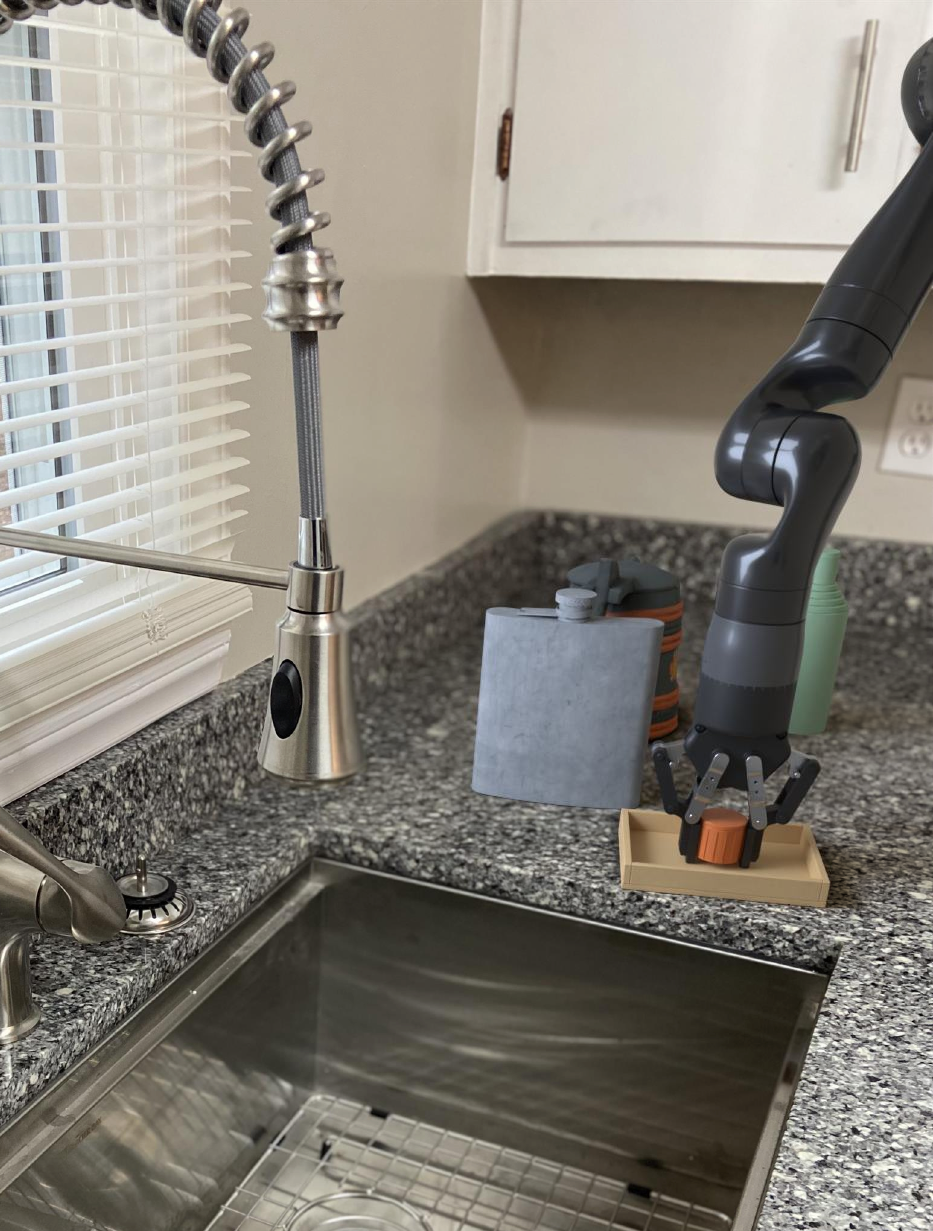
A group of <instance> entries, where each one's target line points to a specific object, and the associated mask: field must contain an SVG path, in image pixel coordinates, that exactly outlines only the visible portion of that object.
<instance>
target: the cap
mask: <svg viewBox="0 0 933 1231" xmlns="http://www.w3.org/2000/svg"><path fill="white" fill-rule="evenodd" d="M699 821H700V824H701V826H700V832H699V838H698V844H697V850H696V856H697V857H698V858H700V859H702V860H705V861H708V862H712V863H717V864H731V863H735V862H737V861H739V860H740V858H741V856H742V851H743V845H744V840H745V834H746V828H747V823H748V817H747V816H746V815H745V814H743V813H741V812H739V811H737V810H734V809H731V808H723V807H709V808H705V809H704V811H703V813H702V815H701V817H700V819H699Z"/></svg>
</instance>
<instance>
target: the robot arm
mask: <svg viewBox="0 0 933 1231" xmlns="http://www.w3.org/2000/svg"><path fill="white" fill-rule="evenodd" d="M900 104H901V109H902V112H903V116H904V119H905V121H906V124H907V126H908V129H909V130H910V132H911V134H912V136H913V137H914V139H915V141H916V142H917V144H918V145H919V146H920V147H921V149H922V150H921V151H920V152H919V154H918V155H917V157H916V159H915V160H914V162H913V163H912V165H911V166H910V168H909V169H908V171H907V172H906V174H905V175H904V176H903V178H902V179H901V181H900V182H899V183H898V185H897V186H896V187H895V189H894V190H893V191H892V192H891V194H889V196H888V198H887V199H886V200H885V201H884V203H883V204H882V205H881V206H880V207H879V209H878V210H877V211H876V213H874V215H873V216H872V217H871V219H870V220H869V221H868V223H867V224H866V225H865V226H864V228H863V229H862V230H861V231H860V232H859V234H858V235H857V236H856V237H855V239H854V241H853V242H852V243H851V244H850V246H849V248H848V249H847V250H846V252H845V253H844V255H843V256H842V257H841V259H840V260H839V262H838V263H837V265H836V266H835V268H834V269H833V271H832V273H831V274H830V276H829V277H828V279H827V280H826V282H825V285H824V286H823V288H822V290H821V292H820V294H819V296H818V297H817V300H816V301H815V303H814V305H813V307H812V309H811V311H810V312H809V314H808V316H807V318H806V320H805V322H804V324H803V326H802V328H801V330H800V331H799V333H798V336H797V337H796V339H795V341H794V343H793V344H792V345H791V346H790V347H789V348H788V349H787V350H786V352H784V353H783V355H782V356H780V357H779V358H778V360H776V362H775V363H774V364H773V365H772V366H771V367H770V369H769V370H768V371H767V372H766V374H764V376H762V378H761V379H760V380H759V381H758V382H757V384H756V385H754V387H752V388H751V390H750V391H749V392H748V393H747V394H746V395H745V396H744V397H743V399H742V400H741V401H740V402H739V403H738V405H737V406H736V407H735V408H734V410H733V411H732V412H731V414H730V415H729V417H728V419H727V420H726V421H725V424H724V425H723V427H722V429H721V431H720V433H719V435H718V438H717V442H716V445H715V448H714V453H713V472H714V476H715V480H716V482H717V484H718V486H719V488H720V489H721V490H722V491H723V492H724V493H726V494H727V495H729V496H730V497H733V498H735V499H739V500H741V501H748V502H754V503H759V504H765V505H770V506H773V507H774V506H775V507H779V508H780V507H781V508H783V511H782V513H781V517H780V519H779V520H778V523H777V525H776V526H775V528H774V529H773V530H772V532H754V533H747V534H741V535H739V536H736V537H734V538H733V539H731V540H730V541H729V542H728V543H727V544H726V546H725V548H724V550H723V552H722V553H723V554H722V556H721V561H720V567H719V574H718V580H717V586H716V593H715V599H714V605H713V611H712V616H711V619H710V623H709V626H708V629H707V633H706V635H705V641H704V648H703V649H702V652H701V658H700V659H701V666H700V672H699V678H698V679H699V680H698V684H697V692H696V698H695V704H694V712H693V717H692V723H691V726H690V727H689V729H688V730H687V731H686V733H685V734H684V736H683V738H682V739H679V740H675V741H674V740H673V741H670V742H666V743H665V741H663V740H661V739H656V740H654V741H653V742H652V744H651V747H650V749H651V755H652V761H653V765H654V771H655V774H656V780H657V783H658V788H659V793H660V796H661V801H662V806H663V810H664V812H666V813H667V814H669V815H676V816H678V817H680V818H681V819H682V822H681V828H680V834H679V841H678V846H679V851H680V855H683V856H685V862H689V863H694V862H695V856H696V850H697V844H698V838H699V832H700V826H701V824H700V821H699V819H700V817H701V815H702V813H703V811H704V809H706V806H707V804H708V803H709V802H710V801H711V799H712V797H713V795H714V792H715V791H716V789H718V790H723V789H730V788H731V789H735V790H738V791H741V792H746V796H747V805H748V807H747V808H748V817H747V819H748V823H747V828H746V834H745V840H744V845H743V851H742V856H741V858H740V860H739V865H740V867H741V868H749V866H750V862H756V861H757V859H758V858H759V854H760V849H761V844H762V839H763V833H764V830H765V828H766V827H767V826H769V825H772V824H777V823H778V824H780V825H785V824H787V823H789V822H791V820H792V818H793V817H794V815H795V814H796V812H797V810H798V809H799V807H800V805H801V803H802V802H803V801H804V799H805V798H806V795H807V794H808V792H809V791H810V790H811V787H812V786H813V784H814V783H815V781H816V779H817V777H818V776H819V774H820V772H821V770H822V768H821V765H820V761H819V759H818V757H817V755H816V754H815V753H814V752H811V751H808V752H805V753H804V752H802V751H799V750H797V749H795V748H792V746H791V744H790V741H789V735H788V734H789V733H788V730H789V724H790V719H791V714H792V708H793V703H794V698H795V692H796V688H797V682H798V677H799V672H800V666H801V661H802V656H803V650H804V640H805V623H806V616H807V610H808V605H809V600H810V594H811V589H812V584H813V579H814V573H815V569H816V567H817V564H818V562H819V559H820V557H821V555H822V552H823V550H824V548H826V546H827V543H828V541H829V539H830V537H831V534H832V532H833V530H834V528H835V525H836V524H837V521H838V519H839V517H840V515H841V513H842V511H843V510H844V507H845V505H846V503H847V502H848V500H849V498H850V496H851V494H852V491H853V489H854V486H855V485H856V483H857V480H858V477H859V476H860V471H861V467H862V459H863V449H862V448H863V447H862V441H861V437H860V435H859V432H858V430H857V428H856V426H855V425H854V423H853V422H852V421H851V420H850V419H848V418H847V417H845V416H843V415H840V414H837V413H833V412H832V413H831V412H824V411H820V410H821V409H823V408H825V407H827V406H832V405H835V404H842V403H848V402H854V401H858V400H862V399H864V398H866V397H868V396H869V395H871V394H872V393H874V391H875V390H876V389H877V388H878V386H880V383H881V382H882V380H883V379H884V377H885V375H886V374H887V372H888V370H889V368H890V366H891V365H892V363H893V360H894V359H895V356H896V354H897V353H898V351H899V349H900V347H901V345H902V344H903V342H904V340H905V338H906V336H907V334H908V332H909V331H910V329H911V327H912V326H913V323H914V321H915V320H916V318H917V316H918V314H919V313H920V311H921V309H922V306H923V305H924V303H925V301H926V298H927V297H928V296H929V294H930V292H931V291H932V288H933V36H932V37H931V38H929V39H928V40H926V41H925V42H924V43H922V45H921V46H920V47H918V49H916V50H915V52H914V53H913V54H912V55H911V57H910V58H909V60H908V61H907V64H906V65H905V68H904V71H903V74H902V78H901V82H900ZM684 754H686V755H687V757H688V759H689V761H690V762H691V764H692V765H693V767H694V769H695V771H696V774H695V775H694V778H693V781H692V784H691V787H690V790H689V792H688V794H687V796H686V798H684V797H682V796H679V795H678V793H677V789H676V784H675V780H674V775H673V770H675V769H676V768H678V766H679V765H680V759H681V757H682V755H684ZM785 763H788V766H787V773H788V776H789V777H788V779H787V780H786V782H785V784H784V786H783V787H782V789H781V790H780V792H779V794H778V796H777V797H776V798H775V800H774V802H773V803H771V804H766V794H765V782H766V781H767V780H768V779H769V778H770V777H771V776H772V775H773V774H774V773H775V772H776V771H777V770H779V769H780V768H781V766H783V765H784V764H785Z"/></svg>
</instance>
